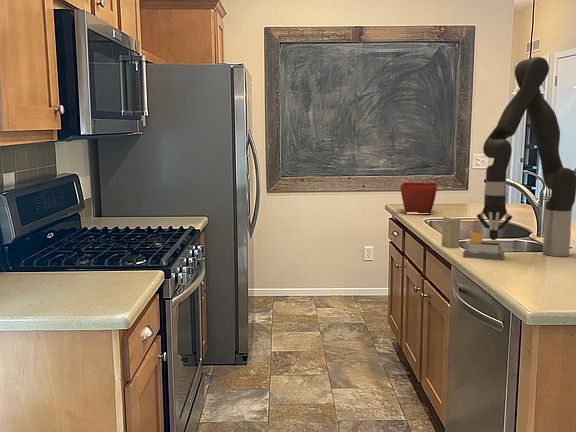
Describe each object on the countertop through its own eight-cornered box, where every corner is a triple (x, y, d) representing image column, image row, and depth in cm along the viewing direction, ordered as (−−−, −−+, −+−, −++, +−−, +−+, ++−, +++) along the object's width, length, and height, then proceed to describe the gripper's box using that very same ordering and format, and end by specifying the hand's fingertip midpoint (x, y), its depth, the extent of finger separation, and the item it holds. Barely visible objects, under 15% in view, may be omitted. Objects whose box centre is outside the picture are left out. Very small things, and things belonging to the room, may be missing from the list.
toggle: (481, 249, 229) (482, 230, 228) (480, 251, 226) (481, 231, 225) (470, 248, 231) (471, 229, 230) (469, 250, 227) (470, 231, 226)
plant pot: (399, 215, 336) (400, 185, 334) (403, 210, 354) (404, 182, 352) (434, 216, 331) (435, 186, 328) (436, 212, 349) (437, 183, 346)
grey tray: (504, 255, 229) (504, 242, 228) (502, 260, 221) (503, 246, 220) (466, 252, 234) (466, 240, 234) (463, 257, 226) (463, 244, 225)
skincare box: (441, 245, 249) (442, 216, 247) (450, 244, 250) (451, 215, 249) (450, 248, 243) (451, 218, 241) (459, 247, 245) (461, 217, 243)
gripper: (514, 193, 224) (512, 239, 226) (477, 191, 229) (476, 236, 231) (513, 195, 217) (511, 242, 219) (475, 194, 222) (473, 240, 225)
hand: (493, 239), depth 225 cm, fingers closed
